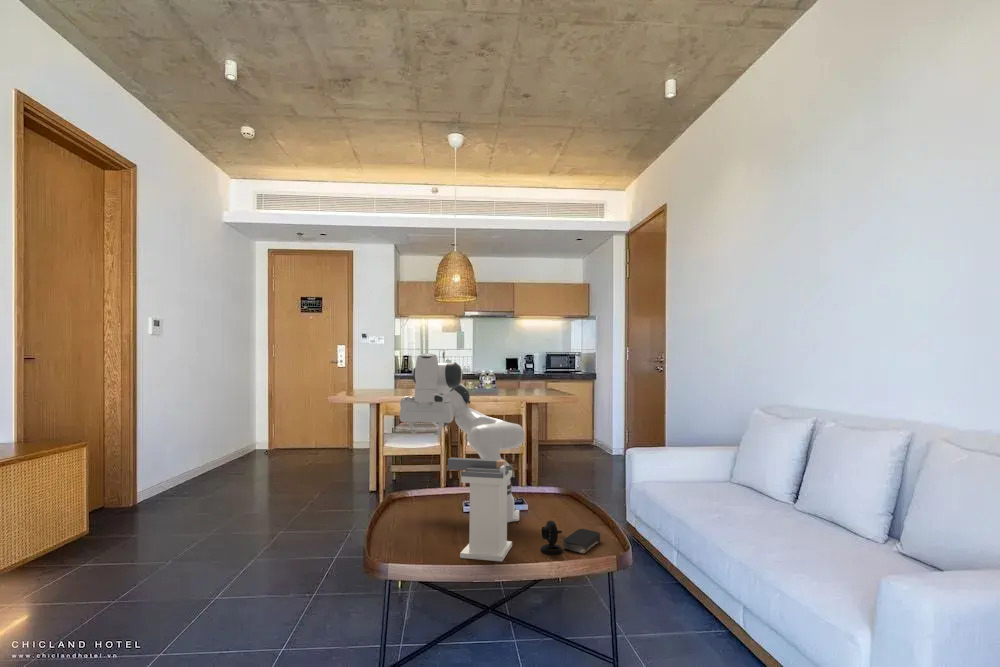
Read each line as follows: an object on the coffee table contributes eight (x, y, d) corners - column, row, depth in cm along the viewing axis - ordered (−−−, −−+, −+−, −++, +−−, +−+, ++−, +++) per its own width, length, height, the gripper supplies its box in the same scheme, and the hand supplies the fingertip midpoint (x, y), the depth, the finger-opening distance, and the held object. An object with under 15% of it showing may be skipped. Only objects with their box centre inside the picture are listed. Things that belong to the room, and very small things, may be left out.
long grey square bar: (451, 467, 187) (451, 457, 188) (505, 470, 183) (505, 459, 183) (447, 469, 184) (447, 459, 184) (503, 472, 179) (503, 461, 179)
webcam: (537, 548, 180) (537, 518, 181) (558, 546, 182) (557, 517, 183) (544, 555, 173) (544, 524, 173) (566, 554, 174) (565, 523, 175)
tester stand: (473, 542, 185) (474, 459, 187) (512, 545, 182) (512, 460, 184) (460, 557, 170) (461, 466, 172) (502, 561, 167) (502, 468, 169)
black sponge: (580, 538, 192) (580, 527, 192) (602, 542, 188) (602, 531, 188) (560, 550, 178) (560, 539, 179) (583, 555, 174) (583, 544, 174)
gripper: (397, 397, 194) (396, 434, 193) (449, 397, 189) (449, 436, 188) (403, 396, 200) (403, 432, 199) (454, 397, 195) (454, 434, 194)
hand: (425, 434), depth 193 cm, fingers open, 8 cm apart
